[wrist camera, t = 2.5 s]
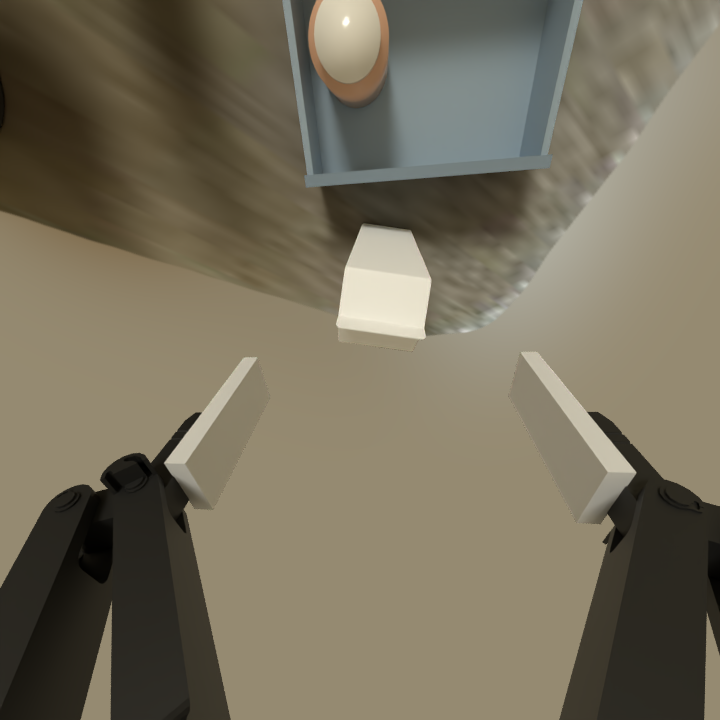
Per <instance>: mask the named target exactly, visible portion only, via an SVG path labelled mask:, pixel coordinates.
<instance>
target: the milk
mask: <svg viewBox="0 0 720 720" xmlns="http://www.w3.org/2000/svg"><path fill="white" fill-rule="evenodd" d="M430 287H431V278H430V275H429V273H428V270H427V268H426V266H425V263H424V261H423V258H422V256H421V254H420V251H419V249H418V246H417V244H416V242H415V239H414V237H413V234H412V232H411V230H408V229H401V228H394V227H387V226H380V225H374V224H367V223H363V224H362V226H361V229H360V231H359V234H358V236H357V239H356V241H355V244H354V247H353V249H352V252H351V254H350V257H349V259H348V262H347V264H346V267H345V272H344V279H343V286H342V294H341V301H340V308H339V315H338V319H337V322H336V326H337V327H338V341H340V342H346V343H353V344H360V345H367V346H375V347H381V348H388V349H395V350H402V351H410V352H412V351H413V350H414V348H415V346H416V344H417V342H418V340H424V339H425V338H426V334H425V330H424V326H425V320H426V313H427V307H428V300H429V294H430Z"/></svg>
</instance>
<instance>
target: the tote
mask: <svg viewBox="0 0 720 720" xmlns="http://www.w3.org/2000/svg"><path fill="white" fill-rule="evenodd" d="M282 1H283V8H284V15H285V22H286V29H287V36H288V43H289V50H290V57H291V64H292V71H293V78H294V85H295V92H296V99H297V106H298V113H299V120H300V127H301V134H302V141H303V147H304V154H305V161H306V168H307V175H304V177H305V184H306V187H318V186H331V185H343V184H356V183H368V182H381V181H393V180H406V179H418V178H431V177H443V176H455V175H468V174H480V173H493V172H505V171H518V170H530V169H543V168H550V163H551V159H552V155H553V154H551V155H548V151H549V147H550V142H551V138H552V134H553V129H554V125H555V121H556V116H557V112H558V108H559V103H560V99H561V95H562V90H563V86H564V82H565V77H566V73H567V69H568V64H569V60H570V55H571V51H572V47H573V42H574V38H575V34H576V29H577V25H578V21H579V16H580V12H581V8H582V3H583V0H381V2H382V4H383V7H384V10H385V12H386V16H387V21H388V27H389V55H388V73H387V78H386V82H385V85H384V87H383V89H382V91H381V93H380V94H379V96H378V97H377V98H376V99H375V100H374V101H373V102H372V103H371V104H369V105H367V106H365V107H362V108H350V107H347V106H345V105H343V104H342V103H341V102H339V101H338V100H337V99H336V97H335V96H334V95H333V94H332V92H331V91H330V90H329V88H328V87H327V86H326V84H325V83H324V82H323V81H322V79H321V78H320V76H319V75H318V73H317V71H316V69H315V67H314V64H313V62H312V59H311V55H310V50H309V41H308V30H309V22H310V17H311V13H312V10H313V7H314V5H315V2H316V0H282Z"/></svg>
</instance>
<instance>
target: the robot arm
mask: <svg viewBox="0 0 720 720" xmlns="http://www.w3.org/2000/svg"><path fill="white" fill-rule="evenodd" d="M3 116H4V100H3V93H2V88H1V84H0V127H1V124H2V121H3ZM269 399H270V395H269V392H268V389H267V385H266V382H265V379H264V376H263V372H262V369H261V366H260V363H259V360H258V357H251V358H250V357H245V358H243V360H242V361H241V362H240V363H239V365H238V366H237V367H236V369H235V370H234V371H233V373H232V374H231V375H230V377H229V378H228V379H227V381H226V382H225V383H224V385H223V386H222V387H221V389H220V390H219V391H218V393H217V394H216V395H215V396H214V398H213V399H212V400H211V402H210V403H209V404H208V406H207V407H206V408H205V410H204V411H203V412H202V413H195V414H193V415H192V416H191V417H189V418H188V419H187V420H185V421H184V423H183V424H182V425H181V427H180V428H179V429H178V431H177V432H176V433H175V434H174V435H173V436H172V439H171V440H169V441H168V443H167V444H166V445H165V446H164V448H163V449H162V450H161V452H160V453H159V454H158V455H157V456H156V458H155V459H154V460H153V461H152V463H150V462H149V460H148V459H147V457H146V456H145V455H144V454H141V453H133V454H130V455H127V456H124V457H122V458H120V459H118V460H116V461H115V462H113V463H112V464H111V465H110V466H109V467H107V469H106V470H105V471H104V472H103V474H102V476H101V479H100V481H101V482H102V483H103V484H104V485H105V486H106V487H107V488H108V489H106V490H102V491H98V492H95V491H94V490H92V488H91V487H90V486H89V485H77V486H74V487H71V488H69V489H67V490H65V491H63V492H62V493H60V494H59V495H57V496H56V497H55V498H53V499H52V500H51V501H50V502H49V503H48V504H47V506H46V507H45V508H44V510H43V511H42V513H41V515H40V517H39V519H38V520H37V522H36V524H35V526H34V528H33V529H32V531H31V533H30V535H29V537H28V539H27V541H26V542H25V544H24V546H23V548H22V550H21V552H20V554H19V555H18V557H17V559H16V561H15V562H14V564H13V566H12V568H11V570H10V572H9V574H8V575H7V577H6V579H5V581H4V583H3V584H2V586H1V588H0V720H80V719H81V716H82V712H83V707H84V704H85V700H86V697H87V692H88V689H89V685H90V681H91V678H92V674H93V670H94V666H95V662H96V658H97V654H98V651H99V647H100V643H101V640H102V636H103V632H104V628H105V624H106V621H107V616H108V613H109V609H110V605H111V602H112V652H111V655H112V656H111V720H230V715H229V710H228V706H227V701H226V696H225V691H224V687H223V682H222V677H221V673H220V668H219V664H218V659H217V654H216V650H215V645H214V640H213V636H212V631H211V626H210V622H209V617H208V612H207V607H206V603H205V598H204V594H203V589H202V584H201V580H200V575H199V570H198V566H197V561H196V556H195V552H194V547H193V542H192V538H191V533H190V528H189V524H188V519H187V515H186V513H185V511H184V508H185V506H186V504H187V503H188V501H190V503H191V504H192V506H193V507H194V509H211V510H213V509H214V507H215V505H216V503H217V501H218V499H219V497H220V495H221V493H222V491H223V489H224V487H225V485H226V483H227V482H228V480H229V477H230V476H231V474H232V472H233V470H234V468H235V466H236V464H237V462H238V460H239V458H240V456H241V454H242V452H243V450H244V448H245V446H246V444H247V442H248V440H249V438H250V436H251V434H252V432H253V431H254V429H255V426H256V425H257V422H258V421H259V418H260V416H261V415H262V413H263V411H264V409H265V407H266V405H267V403H268V401H269ZM509 399H510V400H511V402H512V404H513V406H514V408H515V410H516V412H517V413H518V415H519V417H520V419H521V421H522V423H523V425H524V426H525V428H526V430H527V432H528V434H529V436H530V438H531V440H532V441H533V443H534V445H535V447H536V449H537V450H538V452H539V454H540V456H541V458H542V460H543V462H544V464H545V466H546V467H547V469H548V471H549V473H550V475H551V477H552V479H553V481H554V482H555V484H556V486H557V488H558V489H559V492H560V494H561V495H562V497H563V499H564V501H565V503H566V505H567V507H568V508H569V510H570V512H571V514H572V516H573V518H574V520H575V522H576V523H592V524H601V522H602V521H603V520H604V518H605V517H606V515H607V514H608V515H609V516H610V518H611V520H612V521H613V523H614V524H615V526H614V527H613V529H612V530H611V531H610V532H609V534H608V535H607V536H606V538H605V539H604V541H603V543H605V544H607V543H608V544H607V548H606V551H605V556H604V559H603V562H602V566H601V569H600V573H599V577H598V581H597V584H596V588H595V591H594V595H593V599H592V602H591V606H590V610H589V613H588V617H587V621H586V624H585V628H584V632H583V635H582V639H581V643H580V646H579V650H578V654H577V657H576V661H575V664H574V668H573V672H572V675H571V679H570V683H569V686H568V690H567V694H566V697H565V701H564V705H563V708H562V712H561V716H560V719H559V720H704V703H705V662H706V619H707V618H706V617H707V613H708V617H709V620H710V623H711V627H712V630H713V634H714V637H715V640H716V644H717V647H718V651H719V654H720V506H716V505H712V504H709V503H705V502H702V500H701V499H700V498H699V497H698V496H696V495H695V494H694V493H693V492H691V491H690V490H688V489H686V488H685V487H683V486H681V485H679V484H677V483H674V482H671V481H668V480H664V479H663V478H662V477H661V476H660V475H659V474H658V472H657V471H656V470H655V469H654V468H653V467H652V466H651V465H650V463H649V462H648V461H647V460H646V459H645V458H644V457H643V456H642V455H641V453H640V452H639V451H638V450H637V449H636V448H635V447H634V446H633V445H632V444H630V441H629V440H628V439H627V438H626V437H625V436H624V435H622V432H621V431H620V430H619V429H618V428H617V427H616V426H615V425H614V423H613V422H612V421H610V420H609V419H607V418H606V417H604V416H603V415H602V414H600V413H598V412H586V411H585V410H584V408H583V407H582V406H581V405H580V403H579V402H578V401H577V400H576V398H575V397H574V396H573V395H572V394H571V392H570V391H569V390H568V389H567V388H566V387H565V385H564V384H563V383H562V381H561V380H560V379H559V378H558V377H557V376H556V374H555V373H554V372H553V371H552V370H551V368H550V367H549V366H548V364H547V363H546V362H545V361H544V360H543V358H542V357H541V356H540V355H539V354H538V352H520V355H519V358H518V362H517V366H516V370H515V373H514V377H513V381H512V385H511V388H510V392H509Z"/></svg>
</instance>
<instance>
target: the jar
mask: <svg viewBox="0 0 720 720" xmlns="http://www.w3.org/2000/svg"><path fill="white" fill-rule="evenodd" d="M308 41H309V50H310V55H311V59H312V62H313V64H314V67H315V69H316V71H317V73H318V75H319V76H320V78H321V79H322V81H323V82H324V83H325V84H326V86H327V87H328V88H329V90H330V91H331V92H332V94H333V95H334V96H335V97H336V99H337V100H338V101H339V102H341V103H342V104H343V105H345V106H347V107H350V108H362V107H365V106H367V105H369V104H371V103H372V102H373V101H374V100H375V99H376V98H377V97H378V96H379V94H380V93H381V91H382V89H383V87H384V85H385V82H386V78H387V73H388V55H389V27H388V21H387V16H386V12H385V10H384V7H383V4H382V2H381V0H316V2H315V5H314V7H313V10H312V13H311V17H310V22H309V30H308Z"/></svg>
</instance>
